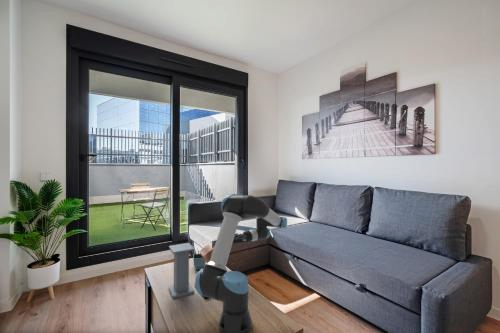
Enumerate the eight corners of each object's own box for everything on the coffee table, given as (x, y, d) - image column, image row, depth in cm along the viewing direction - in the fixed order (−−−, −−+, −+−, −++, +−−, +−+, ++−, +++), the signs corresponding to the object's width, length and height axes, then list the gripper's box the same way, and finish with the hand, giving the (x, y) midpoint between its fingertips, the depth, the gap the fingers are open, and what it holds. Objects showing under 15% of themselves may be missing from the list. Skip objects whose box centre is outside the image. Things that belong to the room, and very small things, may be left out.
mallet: (232, 237, 158) (227, 229, 156) (238, 241, 150) (233, 232, 148) (204, 259, 148) (198, 251, 146) (209, 265, 140) (203, 256, 138)
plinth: (188, 284, 144) (188, 242, 144) (194, 293, 134) (194, 248, 134) (168, 289, 138) (168, 245, 138) (172, 299, 128) (173, 252, 128)
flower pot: (193, 271, 162) (193, 258, 162) (192, 266, 170) (193, 254, 170) (205, 270, 164) (206, 257, 164) (204, 265, 172) (205, 253, 173)
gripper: (255, 244, 153) (223, 251, 141) (244, 238, 167) (214, 243, 155) (255, 233, 153) (223, 238, 141) (244, 228, 167) (214, 232, 155)
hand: (218, 241), depth 148 cm, fingers closed on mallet, 2 cm apart
